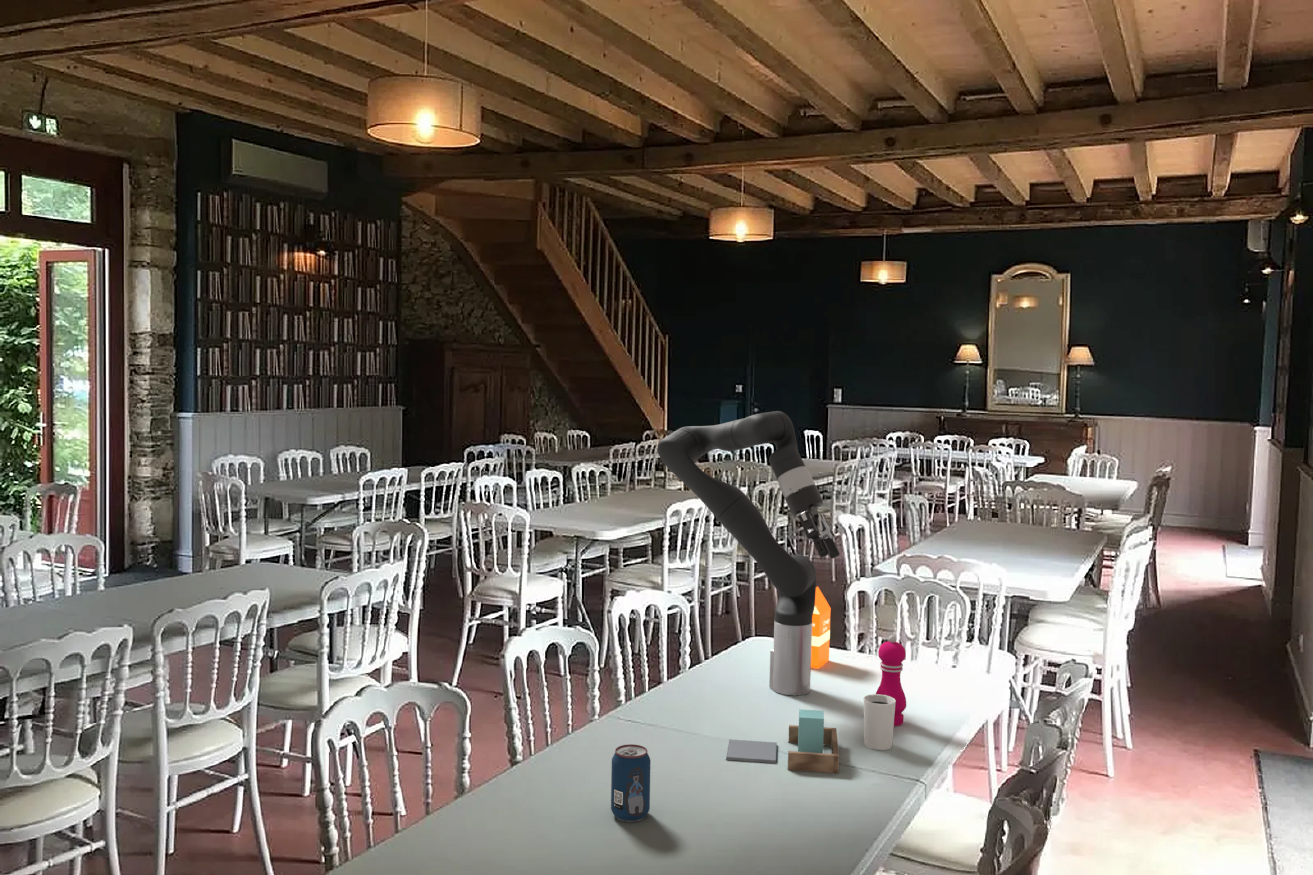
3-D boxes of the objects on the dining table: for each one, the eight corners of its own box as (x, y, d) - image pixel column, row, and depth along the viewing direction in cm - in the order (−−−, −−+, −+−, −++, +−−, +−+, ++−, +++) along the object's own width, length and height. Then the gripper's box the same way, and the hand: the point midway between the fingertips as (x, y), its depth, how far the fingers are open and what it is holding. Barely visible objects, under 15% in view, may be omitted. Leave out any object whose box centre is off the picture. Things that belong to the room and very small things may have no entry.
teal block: (797, 760, 219) (799, 717, 218) (797, 751, 224) (799, 709, 223) (822, 762, 218) (824, 719, 218) (822, 752, 223) (823, 710, 222)
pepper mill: (897, 729, 238) (900, 641, 236) (867, 722, 242) (870, 635, 240) (910, 721, 243) (914, 634, 242) (881, 714, 248) (884, 629, 246)
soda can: (628, 803, 196) (629, 740, 195) (657, 814, 192) (658, 749, 191) (602, 816, 191) (603, 750, 190) (632, 827, 187) (633, 760, 186)
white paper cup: (894, 752, 224) (895, 705, 223) (861, 749, 226) (863, 703, 225) (893, 741, 231) (895, 695, 230) (862, 738, 232) (863, 693, 231)
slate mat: (726, 759, 218) (726, 756, 218) (729, 742, 228) (729, 739, 228) (775, 763, 217) (775, 760, 217) (776, 745, 227) (776, 742, 227)
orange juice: (790, 664, 286) (793, 590, 284) (802, 656, 293) (804, 584, 292) (818, 669, 282) (821, 594, 280) (829, 660, 290) (832, 587, 288)
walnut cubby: (787, 769, 214) (788, 752, 213) (788, 740, 230) (788, 725, 229) (838, 773, 212) (839, 756, 212) (835, 744, 228) (836, 728, 228)
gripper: (794, 501, 248) (824, 564, 243) (775, 495, 236) (806, 563, 231) (823, 486, 246) (854, 550, 241) (805, 480, 233) (837, 547, 228)
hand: (830, 556), depth 236 cm, fingers open, 8 cm apart
